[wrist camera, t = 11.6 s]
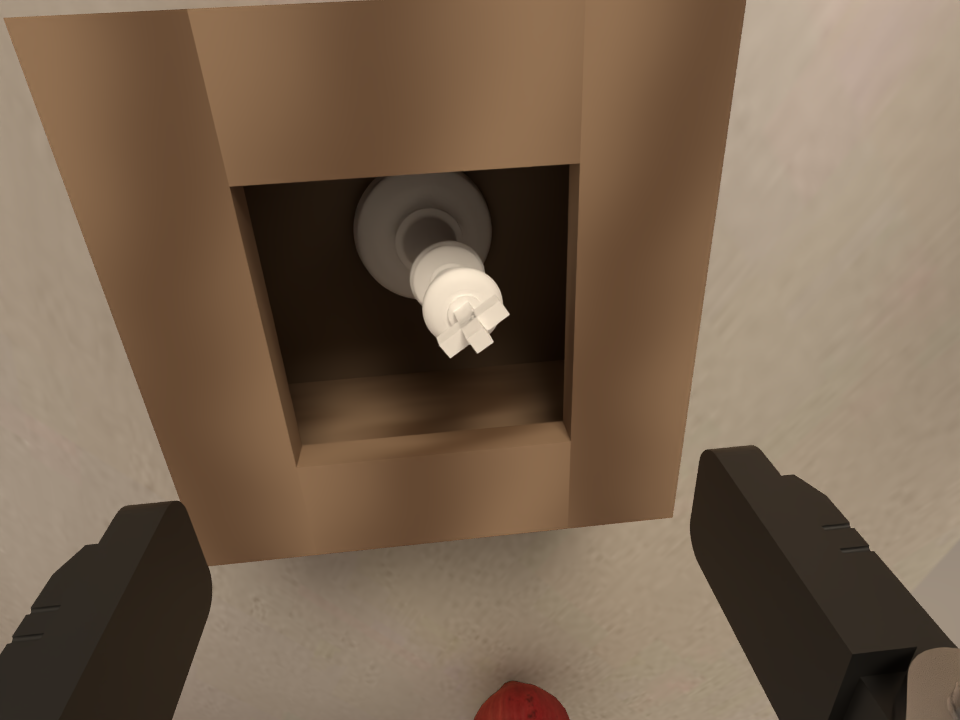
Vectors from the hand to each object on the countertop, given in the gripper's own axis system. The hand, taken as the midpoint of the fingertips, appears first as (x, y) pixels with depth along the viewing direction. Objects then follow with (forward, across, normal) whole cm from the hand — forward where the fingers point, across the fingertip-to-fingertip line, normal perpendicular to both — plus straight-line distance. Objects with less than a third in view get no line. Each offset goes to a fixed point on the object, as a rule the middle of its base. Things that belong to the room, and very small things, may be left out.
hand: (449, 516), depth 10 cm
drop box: (+15, 0, 0) cm, 15 cm away
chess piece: (+15, 0, 0) cm, 15 cm away
